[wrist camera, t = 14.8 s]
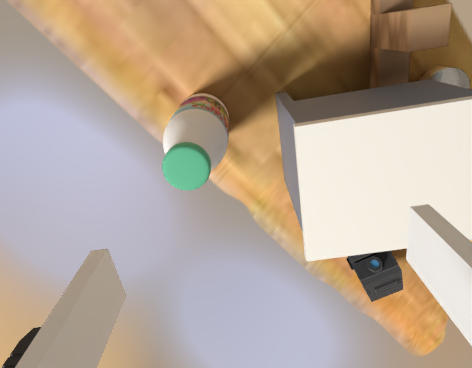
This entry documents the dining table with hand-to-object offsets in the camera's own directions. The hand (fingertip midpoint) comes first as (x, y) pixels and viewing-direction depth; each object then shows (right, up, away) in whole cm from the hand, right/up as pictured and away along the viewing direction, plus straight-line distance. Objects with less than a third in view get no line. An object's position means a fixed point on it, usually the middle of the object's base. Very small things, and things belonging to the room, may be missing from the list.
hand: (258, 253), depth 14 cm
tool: (+20, -5, +43) cm, 48 cm away
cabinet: (+15, +11, +35) cm, 40 cm away
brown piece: (+20, +19, +32) cm, 42 cm away
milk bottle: (-6, +13, +35) cm, 37 cm away
